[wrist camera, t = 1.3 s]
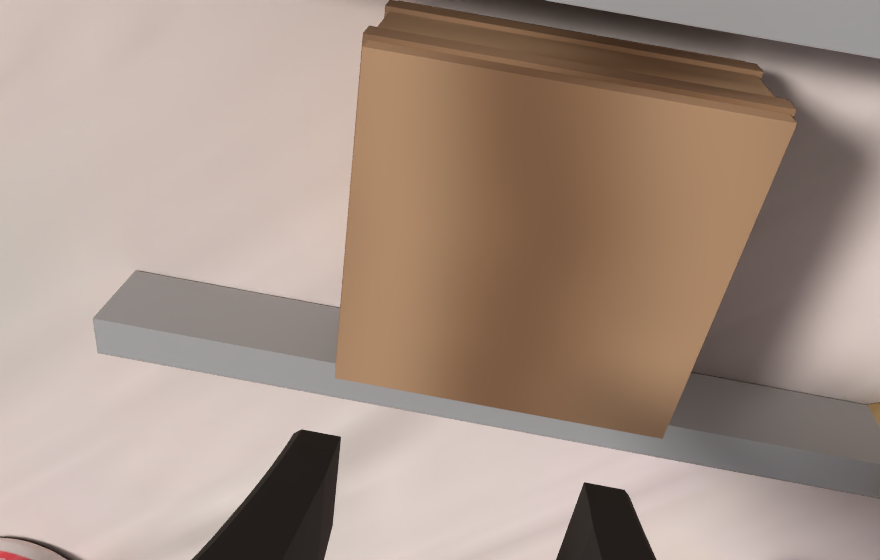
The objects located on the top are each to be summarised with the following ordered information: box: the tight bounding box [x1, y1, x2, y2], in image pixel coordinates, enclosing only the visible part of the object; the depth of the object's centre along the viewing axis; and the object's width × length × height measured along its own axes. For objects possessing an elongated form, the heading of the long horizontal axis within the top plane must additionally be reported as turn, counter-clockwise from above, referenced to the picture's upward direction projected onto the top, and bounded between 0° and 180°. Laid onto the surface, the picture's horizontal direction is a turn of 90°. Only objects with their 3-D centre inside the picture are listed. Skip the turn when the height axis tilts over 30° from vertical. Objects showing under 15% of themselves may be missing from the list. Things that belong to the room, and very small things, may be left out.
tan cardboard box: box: [335, 0, 797, 439], centre depth 17 cm, size 8×8×4 cm
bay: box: [93, 0, 880, 499], centre depth 17 cm, size 23×13×4 cm, turn 82°
